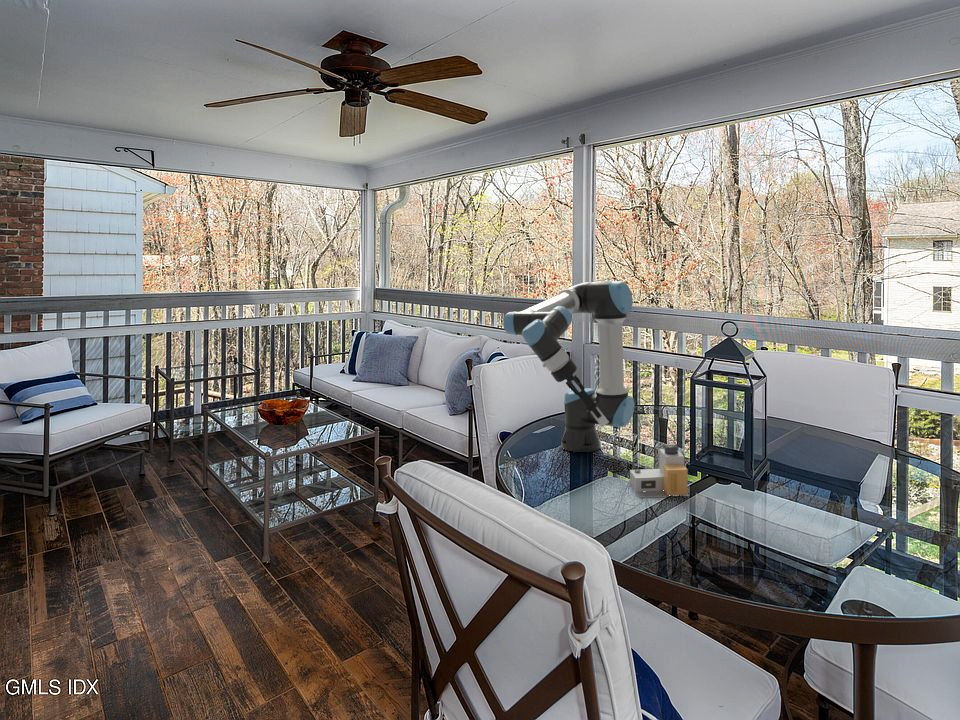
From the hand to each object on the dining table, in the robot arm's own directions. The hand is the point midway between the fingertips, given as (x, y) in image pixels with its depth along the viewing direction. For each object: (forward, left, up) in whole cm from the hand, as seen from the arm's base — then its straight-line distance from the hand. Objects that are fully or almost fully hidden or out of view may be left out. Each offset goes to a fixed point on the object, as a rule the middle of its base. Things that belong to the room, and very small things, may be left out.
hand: (605, 424), depth 176 cm
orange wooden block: (-6, +20, -21) cm, 30 cm away
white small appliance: (-8, +14, -22) cm, 27 cm away
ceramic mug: (-28, +13, -22) cm, 38 cm away
